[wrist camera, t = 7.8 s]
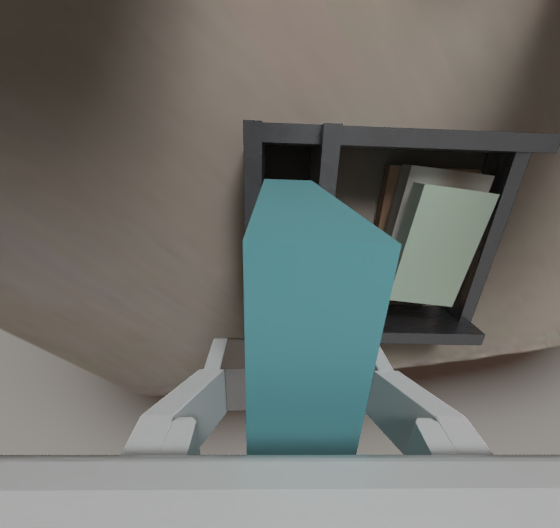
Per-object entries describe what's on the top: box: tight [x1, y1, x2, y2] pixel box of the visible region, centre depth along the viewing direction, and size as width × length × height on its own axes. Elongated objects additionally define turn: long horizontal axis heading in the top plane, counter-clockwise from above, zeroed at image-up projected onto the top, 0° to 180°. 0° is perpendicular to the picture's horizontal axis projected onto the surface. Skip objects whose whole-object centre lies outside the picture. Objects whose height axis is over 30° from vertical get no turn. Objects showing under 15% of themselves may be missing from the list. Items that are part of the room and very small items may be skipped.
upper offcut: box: [390, 182, 500, 307], centre depth 23 cm, size 6×10×2 cm, turn 173°
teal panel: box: [243, 179, 402, 455], centre depth 13 cm, size 3×11×13 cm, turn 178°
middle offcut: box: [384, 164, 495, 240], centre depth 25 cm, size 7×12×2 cm, turn 173°
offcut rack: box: [243, 120, 560, 345], centre depth 24 cm, size 22×18×6 cm
